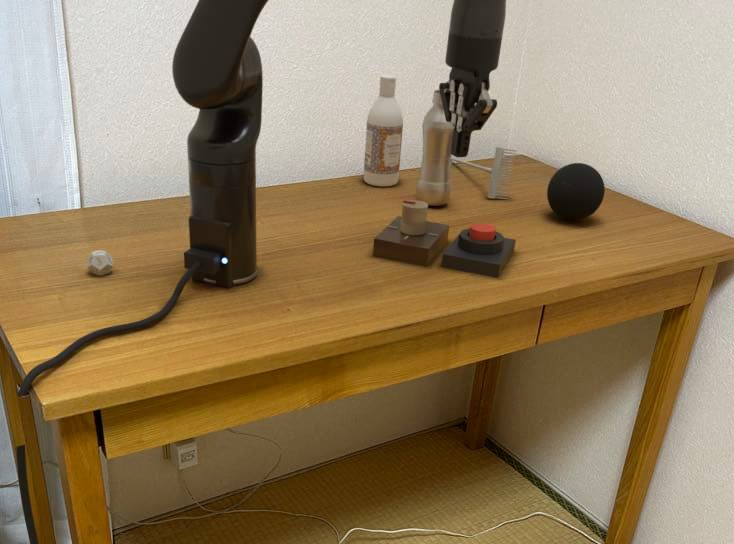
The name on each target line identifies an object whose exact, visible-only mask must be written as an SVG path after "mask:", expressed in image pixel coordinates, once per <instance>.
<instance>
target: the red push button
mask: <svg viewBox="0 0 734 544" xmlns="http://www.w3.org/2000/svg"><path fill="white" fill-rule="evenodd" d="M469 228H470V232H469V237H470V238H472V239H475V240H480V241H491V240H494V238H495V232H497V231H496V230H497V228H496V227H495V226H494V225H492V224H489V223H484V222H475V223H472V224H471V225H470V226H469Z"/></svg>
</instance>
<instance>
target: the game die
mask: <svg viewBox="0 0 734 544" xmlns="http://www.w3.org/2000/svg"><path fill="white" fill-rule="evenodd" d="M113 259H114V258H113V257H112V256H111V254H109V252H108V251H107V250H106V251H105V250H101V249H97V250H94V251H91V252H90V254H89V255H88V257H87V259H86V264H87V268H88V269H89V271H90V272H91V273H92V274H93V275H97V276H104V275H107V274H110V272H111V270H112V268H113V267H114V262H113V261H114V260H113Z"/></svg>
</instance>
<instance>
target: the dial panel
mask: <svg viewBox="0 0 734 544" xmlns="http://www.w3.org/2000/svg"><path fill="white" fill-rule="evenodd" d="M401 218H402V216H399V215H398V216H396V217H395V218H394V219H393V220H392V221H391V222H390V223H389V224H388V225H387V226H385V227H384V228H383V229H382V230H381V231H380V232H379V233H378V234H377V235H376V236H375V237H374V238H373V247H372V248H373V249H372V257H375V258H381V259H386V260H391V261H396V262H400V263H401V262H402V263H406V264H410V265H411V264H412V265H416V266H420V267H421V266H422V267H426V268H427V267H428V266H429V265H430V264H431V263H432V261H433V260H434V259H435V258H436V257H437V256H438V254H439V253H440V252H441V251H442V250H443V249H444V247H445V246H446V245H447V244H448V242H449V241H448V240H449V235H450V233H449V232H450V224H445V223H439V222H433V221H428V220H426V230H425V233H424V234H422V235H407V234H404V233H402V232H401V230H400V229H401Z"/></svg>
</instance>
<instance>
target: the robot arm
mask: <svg viewBox="0 0 734 544" xmlns="http://www.w3.org/2000/svg"><path fill="white" fill-rule="evenodd" d="M268 2H269V0H198V1H197V4H195V7H194V9H193V12H192V14H191V15H190V17H189V20H188V22H187V23H186V26H185V27H184V29H183V32H182V34H181V35H180V38H179V40H178V42H177V45H176V48H175V50H174V54H173V57H172V65H171V69H172V80H173V83H174V87H175V89H176V91H177V93H178V95H179V96H180V98H181V99H182V101H184V102H185V103H186V104H187V105H189V106H190V107H192V108H195V109H197V110H198V109H199V110H198V115H197V117H196V121H195V123H194V125H193V127H192V128H191V130H190V131H189V132H188V135H187V139H186V149H187V167H188V189H189V209H190V216H189V217H188V234H189V235H188V236H189V249H187V250H185V251H184V252H183V263H184V269H185V270H186V272H185V273H184V274H183V275H182V277H181V278H180V280H179V281H178V282H177V284H176V287H175V289H174V291H173V293H172V294H171V296H170V298H169V299H168V301H167V302H166V303H165V305H164V306H163V308H162V309H161V310H159V311H158V312H156V313H154V314H152V315H151V316H148V317H146V318H143V319H141V320H137V321H133V322H132V321H131V322H128V323H123V324H117V325H112V326H107V327H103V328H100V329H96V330H94V331H92V332H90V333H87V334H85V335H83V336H82V337H80V338H78V339H77V340H75V341H74V342H72V343H71V344H70V345H68V346H67V347H66V348H65V349H63V350H62V351H61V352H59V353H58V354H57V355H55V356H53V357H52V358H51V359H48V360H46V361H43V362H42V363H39V364H38V365H36V366H34V367H33V368H32V369H30V370H29V372H27V374H26V376H25V377H24V378H23V380H22V382H21V384H20V386H19V389H18V392H17V396H18V397H24V396H26V395H28V393H29V390H30V388H31V386H32V384H33V383H34V381H35V380H36V379H37V378H38V377H39V376H40V375H41V374H43V373H45V372H47V371H49V370H51V369H54V368H55V367H57V366H59V365H60V364H62V363H64V361H66V360H67V359H68V358H70V357H71V356H72V355H73V354H74V353H76V352H77V351H78V350H80V349H81V348H82V347H84V346H86V345H87V344H89V343H91V342H93V341H96V340H98V339H100V338H103V337H107V336H110V335H114V334H120V333H126V332H130V331H136V330H139V329H143V328H146V327H149V326H151V325H154V324H155V323H157V322H159V321H161V320H162V319H164V318H165V317H166V316H167V315H168V314H169V313H170V312H171V311H172V309H173V308H174V306H175V304H176V303H177V302H178V300H179V299H180V297H181V295H182V293H183V290H184V288H185V287H186V285H187V283H188V282H189V280H190V279H191V280H192V281H195V282H200V283H204V284H209V285H212V286H213V285H214V286H219V287H222V288H227V289H229V288H231V287H233V286H237V285H241V284H246V283H248V282H251V281H253V280H254V279H255V278H256V277H257V276H258V261H257V259H258V258H257V257H258V256H257V254H258V253H257V252H258V251H257V248H258V247H257V157H256V156H257V144H258V141H259V138H260V134H261V129H262V119H263V117H262V114H263V90H264V89H263V86H264V85H263V84H264V78H263V76H264V75H263V73H264V72H263V63H262V57H261V53H260V51H259V48H258V46H257V44H256V41H254V39H253V38H252V37H251V35H252V33H253V30H254V28H255V26H256V23H257V20H258V18H259V17H260V15H261V13H262V11H263V10H264V8H265V6H266V5H267V3H268ZM451 6H452V7H451V10H450V19H449V27H448V36H447V37H448V38H447V44H446V52H445V60H444V61H445V64H446V66H448V67H449V68H451V70H450V72H449V75H448V80H447V81H446V82H440V83H439V85H438V90H440V95H441V100H442V105H443V109H444V114H445V119H446V121H447V122H451V128H452V129H453V135H452V143H451V154H452V155H451V156H452V157H454V158H467V156H468V155H469V151H470V144H471V138H472V133H473V132H474V131H481V130H482V129H483V128H484V127H485V125H486V123H487V121H488V120H489V119H490V117H491V115H492V114H493V113H494V111H495V110H496V108H497V106H498V100H497V99H495V98H493V99H492V98H491V96H490V94H489V90H490V87H491V83H490V74H491V72H494V71H495V70H497V69H498V66H499V63H500V54H501V48H502V42H503V36H504V29H505V23H506V15H507V0H453V3H452V5H451ZM451 112H452V113H451ZM15 448H16V451H15V452H16V454H15V455H16V467H17V468H16V469H17V478H18V487H19V494H20V501H21V506H22V512H23V513H22V514H23V518H24V523H25V528H26V532H27V536H28V537H27V538H28V542H29V544H40V543H39V539H38V533H37V529H36V525H35V519H34V514H33V509H32V503H31V496H30V489H29V482H28V481H29V480H28V472H27V471H28V470H27V456H26V444H22V445H18V446H15Z"/></svg>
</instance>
